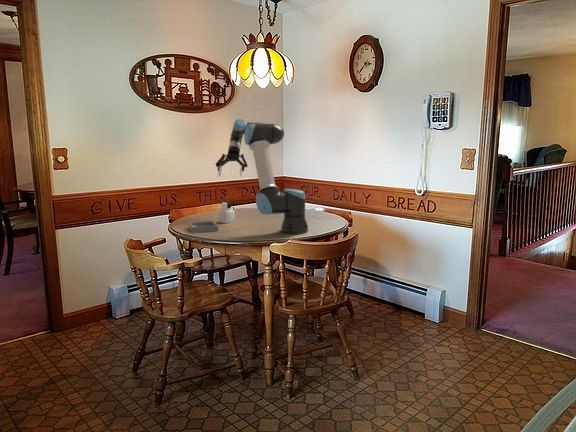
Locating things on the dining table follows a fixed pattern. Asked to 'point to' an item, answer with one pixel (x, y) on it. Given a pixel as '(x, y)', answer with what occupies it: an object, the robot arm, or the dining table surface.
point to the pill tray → (203, 226)
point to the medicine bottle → (226, 213)
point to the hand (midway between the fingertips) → (230, 174)
